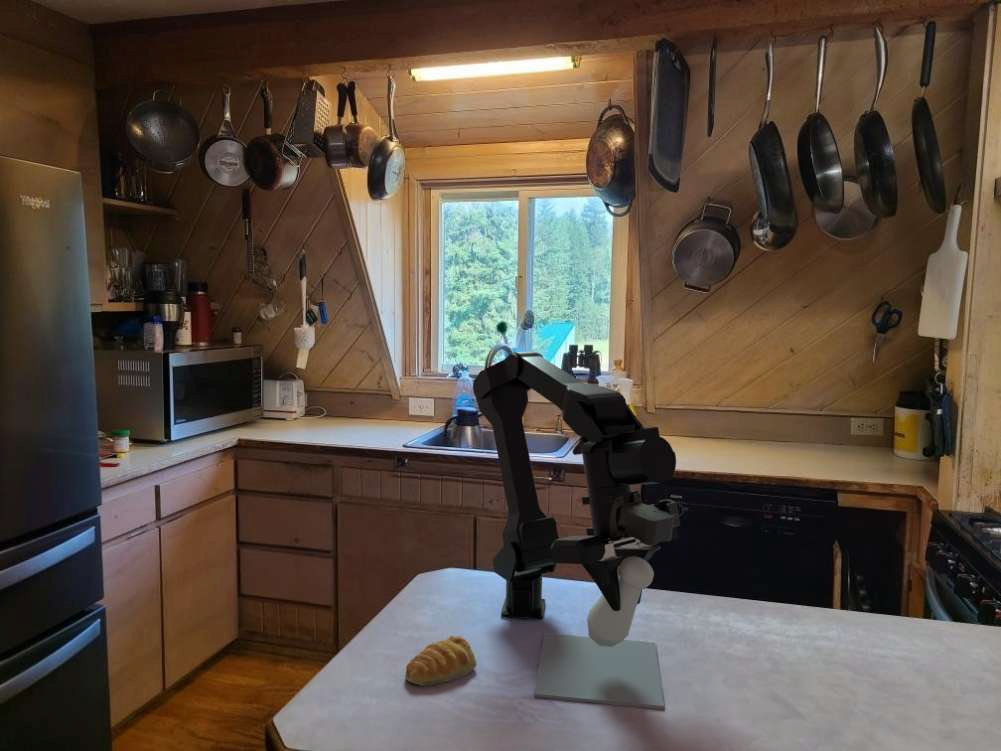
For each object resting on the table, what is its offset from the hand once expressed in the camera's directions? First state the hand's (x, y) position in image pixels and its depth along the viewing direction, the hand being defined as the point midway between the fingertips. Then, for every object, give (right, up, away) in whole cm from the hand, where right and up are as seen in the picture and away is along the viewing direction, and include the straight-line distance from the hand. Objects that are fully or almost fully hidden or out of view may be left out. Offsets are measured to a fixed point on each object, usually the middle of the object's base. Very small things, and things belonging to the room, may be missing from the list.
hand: (626, 607), depth 92 cm
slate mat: (-3, -10, +4) cm, 11 cm away
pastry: (-24, -10, +3) cm, 26 cm away
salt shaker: (-3, -5, +4) cm, 7 cm away
